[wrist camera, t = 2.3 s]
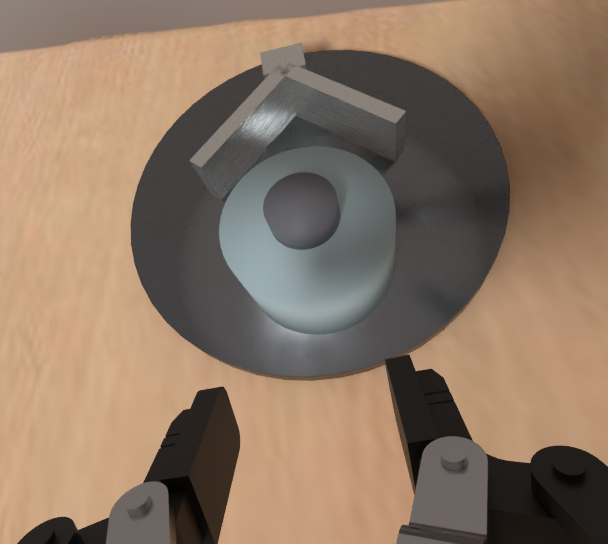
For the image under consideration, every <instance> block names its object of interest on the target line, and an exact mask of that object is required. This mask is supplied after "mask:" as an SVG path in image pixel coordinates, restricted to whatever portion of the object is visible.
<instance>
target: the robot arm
mask: <svg viewBox="0 0 608 544" xmlns="http://www.w3.org/2000/svg"><path fill="white" fill-rule="evenodd" d="M385 364H386V370H387V375H388V381H389V386H390V392H391V397H392V403H393V408H394V413H395V418H396V422H397V426H398V430H399V434H400V439H401V443H402V447H403V451H404V455H405V459H406V463H407V467H408V471H409V475H410V479H411V483H412V487H413V491H414V495H415V496H414V501H413V506H412V512H411V517H410V522H409V525H402V526H401V528H400V530H399V534H398V538H397V543H396V544H608V467H607V466H606V465H605V464H604V463H603V462H601V461H600V460H599V459H598V458H596V457H595V456H593V455H592V454H590V453H588V452H586V451H583V450H581V449H578V448H574V447H569V446H550V447H546V448H543V449H541V450H539V451H538V452H536V453H535V454H534V456H533V457H532V459H531V463H523V462H513V461H506V460H501V459H498V458H495V457H492V456H490V455H488V454H486V453H485V451H484V450H483V449H482V448H481V447H480V446H479V445H478V444H477V443H475V442H473V440H472V438H471V436H470V434H469V432H468V430H467V427H466V425H465V423H464V421H463V419H462V417H461V415H460V412H459V410H458V408H457V406H456V404H455V402H454V399H453V397H452V395H451V393H450V392H449V389H448V386H447V384H446V382H445V380H444V378H443V377H442V376H440V375H439V374H438V373H436V372H435V371H434V370H432V369H427V370H421V371H415V369H414V366H413V363H412V360H411V358H410V355H405V356H400V357H394V358H388V359H385ZM239 450H240V433H239V428H238V425H237V422H236V419H235V416H234V413H233V410H232V407H231V403H230V400H229V397H228V394H227V392H226V390H225V388H224V387H217V388H211V389H206V390H200V391H198V392H197V394H196V397H195V399H194V401H193V404H192V406H191V408H190V409H187V410H183V411H182V412H181V413H180V414H179V415H178V416H177V417H176V418H175V420H174V421H173V422H172V423H171V425H170V427H169V429H168V431H167V434H166V438H164V440H163V442H162V444H161V449H159V451H158V453H157V455H156V457H155V459H154V461H153V463H152V465H151V467H150V470H149V472H148V474H147V476H146V478H145V480H144V482H143V484H140V485H138V486H136V487H134V488H132V489H130V490H129V491H128V492H126V493H125V494H124V495H123V496H122V497H121V498H120V499H119V500H118V501H117V502H116V503H115V505H114V506H113V508H112V510H111V512H110V516H109V518H106V519H104V520H102V521H99V522H97V523H94V524H92V525H90V526H87V527H85V528H82V529H80V530H78V529H77V528H76V526H75V524H74V522H73V520H72V519H70V518H68V517H57V518H53V519H50V520H48V521H46V522H44V523H42V524H40V525H38V526H37V527H35V528H34V529H32V530H31V531H30V532H29V533H27V534H26V535H25V536H24V537H23V538H22V539H21V540H20V541H19V542H18V543H17V544H218V540H219V535H220V531H221V527H222V523H223V518H224V514H225V510H226V505H227V501H228V497H229V493H230V488H231V484H232V480H233V476H234V471H235V467H236V463H237V458H238V454H239Z"/></svg>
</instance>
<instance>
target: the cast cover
mask: <svg viewBox="0 0 608 544" xmlns="http://www.w3.org/2000/svg"><path fill="white" fill-rule="evenodd" d="M395 234H396V212H395V204H394V199H393V196H392V193H391V191H390V188H389V186H388V184H387V183H386V181H385V179H384V178H383V177H382V175H381V174H380V173H379V172H378V171H377V170H376V169H375V168H374V167H373V166H372V165H371V164H369V163H368V162H367V161H365V160H364V159H362V158H360V157H358V156H357V155H355V154H352V153H350V152H347V151H344V150H341V149H337V148H331V147H321V146H311V147H301V148H296V149H291V150H288V151H285V152H281V153H279V154H277V155H274V156H272V157H270V158H268V159H266V160H264V161H263V162H261V163H260V164H258V165H257V166H255V167H254V168H252V169H251V170H250V171H249V172H248V173H247V174H245V175H244V177H243V178H242V179H241V180H240V181H239V182H238V183H237V184H236V186H235V187H234V188H233V190H232V191H231V193H230V195H229V197H228V198H227V200H226V203H225V205H224V207H223V211H222V214H221V218H220V225H219V239H220V246H221V250H222V253H223V256H224V258H225V260H226V262H227V264H228V266H229V267H230V269H231V270H232V272H233V273H234V274H235V276H236V277H237V278H238V280H239V281H240V282H241V283H242V285H243V286H244V287H245V289H246V290H247V291H248V292H249V294H250V295H251V296H252V298H253V299H254V300H255V301H256V303H257V304H258V305H259V307H260V308H261V309H262V310H263V312H264V313H265V314H266V315H267V316H268V317H269V318H271V319H272V320H273V321H274V322H276V323H277V324H279V325H281V326H283V327H284V328H287V329H289V330H292V331H295V332H299V333H303V334H311V335H324V334H331V333H336V332H340V331H343V330H346V329H348V328H351V327H353V326H355V325H356V324H358V323H360V322H362V321H363V320H364V319H366V318H367V317H368V316H370V315H371V314H372V313H373V312H374V311H375V310H376V309H377V308H378V307H379V305H380V304H381V303H382V301H383V300H384V298H385V297H386V295H387V293H388V291H389V289H390V286H391V284H392V280H393V276H394V270H395Z"/></svg>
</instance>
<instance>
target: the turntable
mask: <svg viewBox="0 0 608 544" xmlns="http://www.w3.org/2000/svg"><path fill="white" fill-rule="evenodd" d="M261 61H262V65H259V66H257V67H254V68H252V69H249V70H247V71H245V72H243V73H241V74H239V75H237V76H235V77H233V78H231V79H229V80H227V81H226V82H224V83H222V84H221V85H219V86H218V87H216V88H215V89H213V90H211V91H210V92H209V93H207V94H206V95H205V96H203V97H202V98H201V99H200V100H198V101H197V102H196V103H194V104H193V105H192V106H191V107H190V108H189V109H188V110H187V111H186V112H185V113H184V114H183V115H182V116H180V117H179V119H178V120H177V121H176V122H175V123H174V124H173V125H172V127H171V128H170V129H169V130H168V131H167V132H166V134H165V135H164V137H163V138H162V139H161V141H160V142H159V144H158V145H157V147H156V148H155V150H154V151H153V153H152V155H151V157H150V159H149V161H148V162H147V164H146V166H145V169H144V171H143V174H142V176H141V179H140V181H139V184H138V187H137V191H136V195H135V198H134V202H133V209H132V217H131V246H132V251H133V257H134V262H135V266H136V269H137V272H138V275H139V278H140V281H141V284H142V286H143V288H144V289H145V291H146V293H147V295H148V297H149V299H150V301H151V302H152V304H153V305H154V307H155V308H156V309H157V310H158V312H159V313H160V314H161V316H162V317H163V318H164V320H165V321H166V322H167V323H168V324H169V325H170V326H171V327H172V328H173V329H175V330H176V331H177V332H178V333H179V334H180V335H181V336H182V337H183V338H185V339H186V340H187V341H189V342H190V343H192V344H193V345H195V346H196V347H198V348H199V349H201V350H202V351H203V352H205V353H206V354H208V355H209V356H211V357H213V358H215V359H217V360H219V361H221V362H223V363H225V364H227V365H229V366H232V367H234V368H237V369H240V370H243V371H246V372H250V373H253V374H256V375H260V376H266V377H272V378H278V379H283V380H311V381H312V380H322V379H332V378H341V377H345V376H349V375H353V374H358V373H362V372H366V371H370V370H372V369H375V368H377V367H380V366H383V365H385V359H388V358H394V357H400V356H405V355H407V354H408V353H410V352H412V351H414V350H416V349H418V348H419V347H421V346H422V345H424V344H425V343H427V342H428V341H429V340H431V339H432V338H433V337H435V336H436V335H437V334H439V333H440V332H442V331H443V330H444V329H445V328H446V327H447V326H448V325H449V324H450V323H451V322H452V321H453V320H454V319H455V318H456V317H457V316H458V315H459V314H460V313H461V312H462V311H463V310H464V309H465V308H466V306H467V305H468V304H469V302H470V301H471V300H472V299H473V297H474V296H475V295H476V293H477V292H478V291H479V289H480V287H481V286H482V284H483V282H484V280H485V278H486V277H487V275H488V273H489V271H490V269H491V267H492V265H493V263H494V261H495V259H496V257H497V254H498V251H499V249H500V246H501V243H502V240H503V238H504V235H505V230H506V225H507V220H508V214H509V199H510V185H509V179H508V172H507V165H506V162H505V159H504V156H503V153H502V149H501V146H500V144H499V142H498V140H497V138H496V136H495V134H494V132H493V130H492V128H491V126H490V124H489V123H488V122H487V120H486V119H485V118H484V116H483V115H482V113H481V112H480V111H479V109H478V108H477V107H476V106H475V105H474V104H473V103H472V102H471V101H470V100H469V99H468V98H467V97H466V96H465V95H464V94H463V93H462V92H461V91H459V90H458V89H457V88H455V87H454V86H453V85H452V84H450V83H449V82H448V81H446V80H445V79H443V78H441V77H439V76H438V75H436V74H434V73H433V72H431V71H429V70H427V69H425V68H422V67H420V66H418V65H415V64H413V63H411V62H408V61H405V60H401V59H398V58H395V57H391V56H387V55H382V54H377V53H371V52H362V51H350V50H334V51H319V52H309V53H303V48H302V43H298V44H294V45H290V46H286V47H282V48H278V49H274V50H270V51H266V52H262V53H261ZM311 146H321V147H331V148H337V149H341V150H344V151H347V152H350V153H352V154H355V155H357V156H358V157H360V158H362V159H364V160H365V161H367V162H368V163H369V164H371V165H372V166H373V167H374V168H375V169H376V170H377V171H378V172H379V173H380V174H381V175H382V177H383V178H384V179H385V181H386V183H387V184H388V186H389V188H390V191H391V193H392V196H393V199H394V204H395V212H396V234H395V270H394V276H393V280H392V284H391V286H390V289H389V291H388V293H387V295H386V297H385V298H384V300H383V301H382V303H381V304H380V305H379V307H378V308H377V309H376V310H375V311H374V312H373V313H372V314H371V315H370V316H368V317H367V318H366V319H364V320H363V321H362V322H360V323H358V324H356V325H355V326H353V327H351V328H348V329H346V330H343V331H340V332H336V333H331V334H324V335H311V334H303V333H299V332H295V331H292V330H289V329H287V328H284V327H283V326H281V325H279V324H277V323H276V322H274V321H273V320H272V319H271V318H269V317H268V316H267V315H266V314H265V313H264V312H263V310H262V309H261V308H260V307H259V305H258V304H257V303H256V301H255V300H254V299H253V298H252V296H251V295H250V294H249V292H248V291H247V290H246V289H245V287H244V286H243V285H242V283H241V282H240V281H239V280H238V278H237V277H236V276H235V274H234V273H233V272H232V270H231V269H230V267H229V266H228V264H227V262H226V260H225V258H224V256H223V253H222V250H221V246H220V239H219V225H220V218H221V214H222V211H223V207H224V205H225V203H226V200H227V198H228V197H229V195H230V193H231V191H232V190H233V188H234V187H235V186H236V184H237V183H238V182H239V181H240V180H241V179H242V178H243V177H244V175H245V174H247V173H248V172H249V171H250V170H251V169H252V168H254V167H255V166H257V165H258V164H260V163H261V162H263V161H264V160H266V159H268V158H270V157H272V156H274V155H277V154H279V153H281V152H285V151H288V150H291V149H296V148H301V147H311Z"/></svg>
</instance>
